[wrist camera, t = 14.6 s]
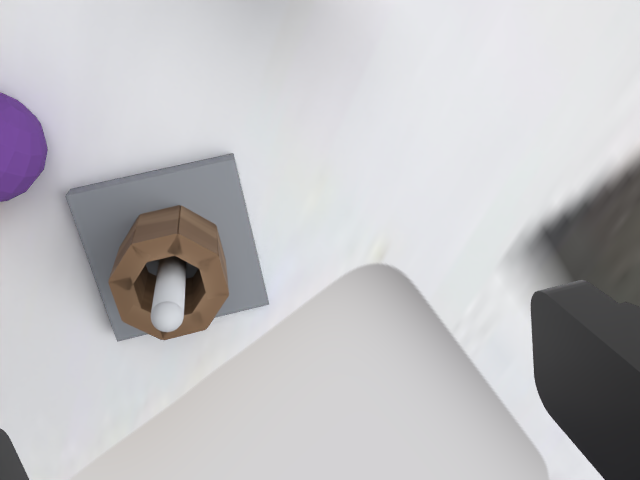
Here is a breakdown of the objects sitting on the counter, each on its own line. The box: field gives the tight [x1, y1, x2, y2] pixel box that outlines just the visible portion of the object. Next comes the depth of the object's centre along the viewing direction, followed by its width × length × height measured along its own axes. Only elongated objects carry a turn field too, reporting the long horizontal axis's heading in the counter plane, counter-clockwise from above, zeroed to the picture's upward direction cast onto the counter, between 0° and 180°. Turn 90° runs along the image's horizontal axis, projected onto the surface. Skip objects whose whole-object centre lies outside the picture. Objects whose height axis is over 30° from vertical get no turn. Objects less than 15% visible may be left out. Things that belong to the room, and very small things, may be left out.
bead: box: [108, 205, 229, 340], centre depth 36 cm, size 6×6×5 cm
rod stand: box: [66, 154, 269, 341], centre depth 35 cm, size 10×10×11 cm
